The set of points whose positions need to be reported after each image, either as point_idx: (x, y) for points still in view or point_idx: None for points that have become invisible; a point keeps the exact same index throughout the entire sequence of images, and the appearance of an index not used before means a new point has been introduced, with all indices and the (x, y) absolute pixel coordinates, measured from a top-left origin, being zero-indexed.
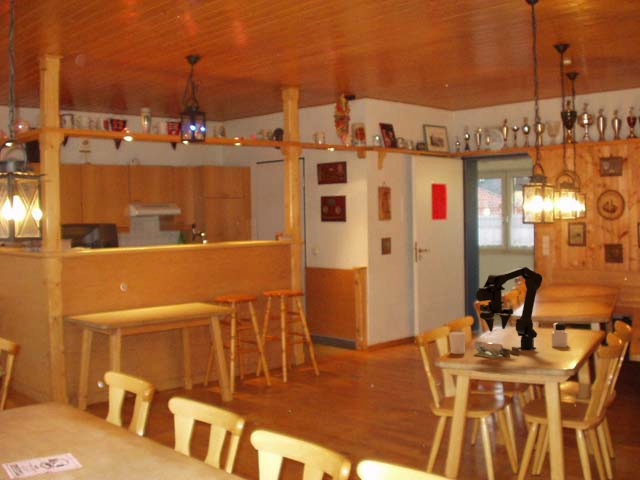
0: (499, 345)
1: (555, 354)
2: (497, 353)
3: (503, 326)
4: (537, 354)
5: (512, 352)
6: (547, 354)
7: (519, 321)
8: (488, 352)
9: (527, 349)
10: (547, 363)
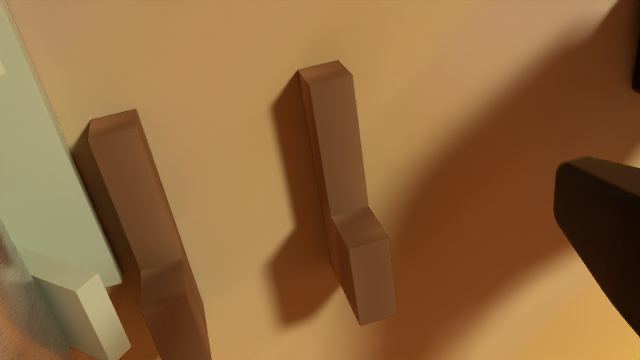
0: None
1: (611, 349)
2: None
3: (609, 256)
4: (509, 308)
5: (327, 215)
6: (569, 332)
7: None
8: (7, 21)
9: (636, 85)
10: None
